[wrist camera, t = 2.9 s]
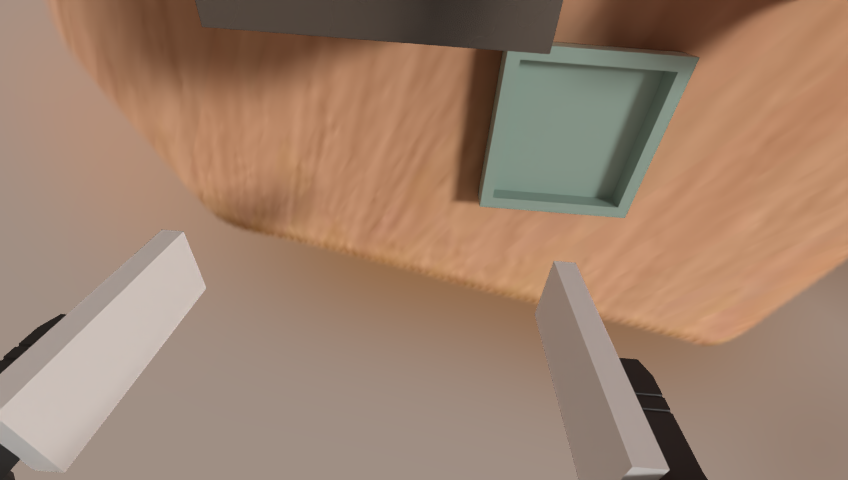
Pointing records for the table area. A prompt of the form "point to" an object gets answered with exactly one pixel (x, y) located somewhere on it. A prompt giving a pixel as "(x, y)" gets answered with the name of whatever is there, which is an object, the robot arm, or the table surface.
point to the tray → (578, 126)
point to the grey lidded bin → (398, 20)
